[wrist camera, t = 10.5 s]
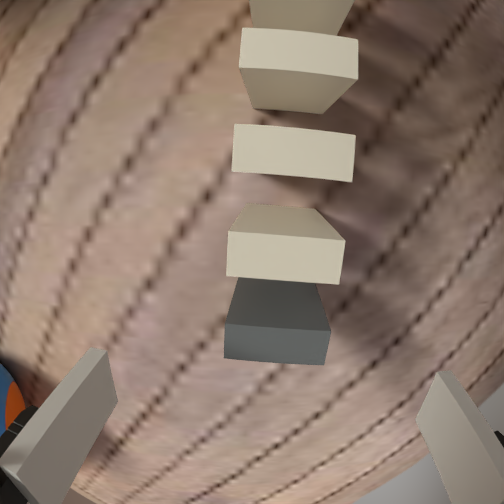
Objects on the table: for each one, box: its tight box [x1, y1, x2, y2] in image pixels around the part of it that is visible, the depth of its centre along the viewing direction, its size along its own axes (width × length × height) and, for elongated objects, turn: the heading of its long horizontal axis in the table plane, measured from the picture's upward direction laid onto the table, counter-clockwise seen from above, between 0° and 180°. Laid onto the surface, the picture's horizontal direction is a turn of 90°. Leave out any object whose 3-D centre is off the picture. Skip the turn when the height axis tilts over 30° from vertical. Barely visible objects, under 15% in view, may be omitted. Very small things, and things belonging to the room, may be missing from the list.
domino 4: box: [226, 203, 345, 284], centre depth 18 cm, size 2×5×10 cm, turn 86°
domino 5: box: [224, 277, 331, 365], centre depth 20 cm, size 2×5×10 cm, turn 86°
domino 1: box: [249, 0, 355, 36], centre depth 15 cm, size 2×5×10 cm, turn 86°
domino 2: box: [239, 28, 358, 114], centre depth 16 cm, size 2×5×10 cm, turn 86°
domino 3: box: [232, 124, 356, 182], centre depth 17 cm, size 2×5×10 cm, turn 86°
